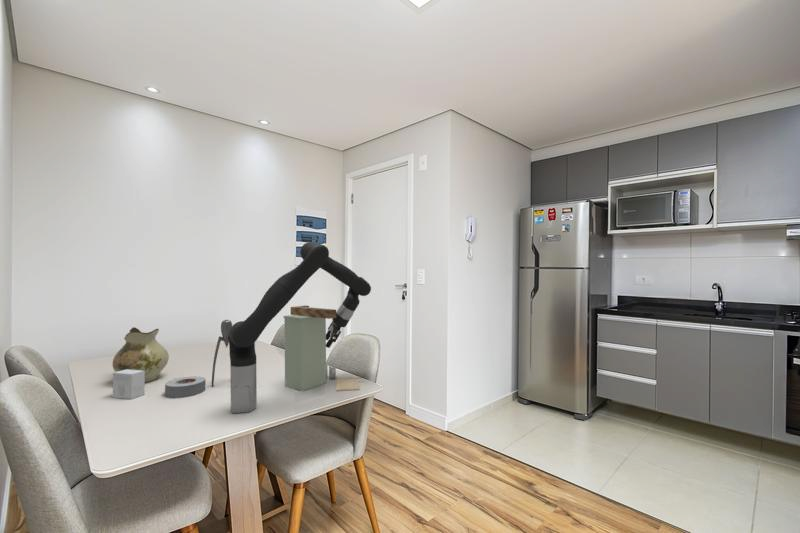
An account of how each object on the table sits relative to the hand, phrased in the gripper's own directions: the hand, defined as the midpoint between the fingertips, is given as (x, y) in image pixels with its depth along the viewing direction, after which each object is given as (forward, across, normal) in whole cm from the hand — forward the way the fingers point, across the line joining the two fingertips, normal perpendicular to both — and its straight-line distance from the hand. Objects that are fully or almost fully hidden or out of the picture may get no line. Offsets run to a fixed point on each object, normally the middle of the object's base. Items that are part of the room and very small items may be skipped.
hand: (326, 343), depth 183 cm
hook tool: (-12, +5, -13) cm, 18 cm away
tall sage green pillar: (+18, +11, -1) cm, 21 cm away
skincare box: (+55, +5, -64) cm, 85 cm away
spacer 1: (+15, +3, +7) cm, 17 cm away
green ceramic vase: (+63, -19, -65) cm, 92 cm away
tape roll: (+44, +6, -45) cm, 63 cm away
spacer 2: (+13, +5, +10) cm, 18 cm away
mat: (+8, +17, +14) cm, 23 cm away
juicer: (+37, +1, -30) cm, 48 cm away
